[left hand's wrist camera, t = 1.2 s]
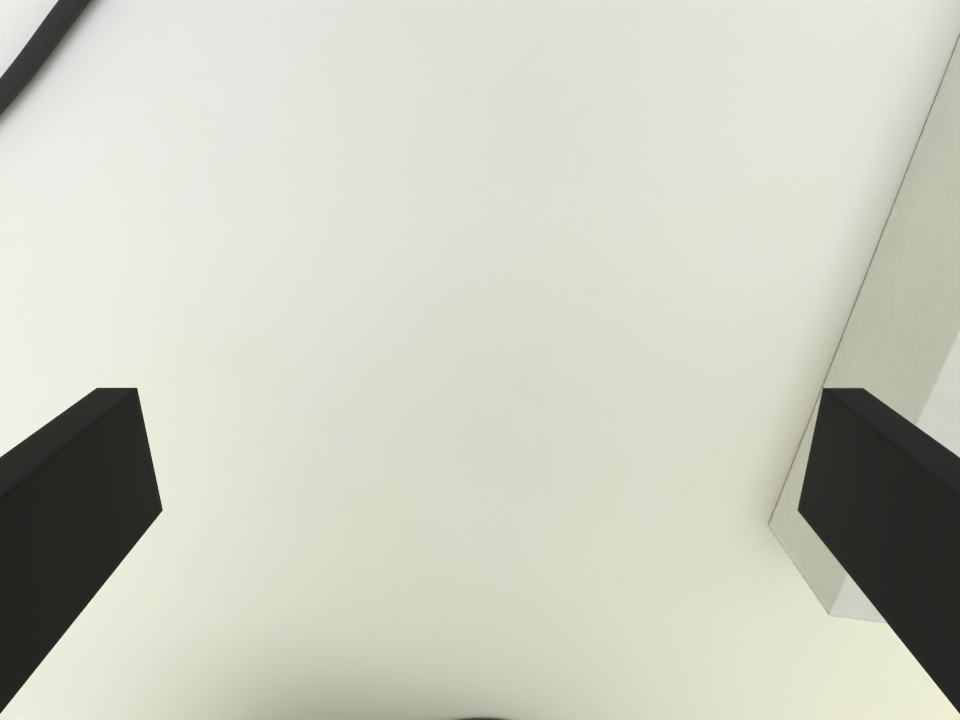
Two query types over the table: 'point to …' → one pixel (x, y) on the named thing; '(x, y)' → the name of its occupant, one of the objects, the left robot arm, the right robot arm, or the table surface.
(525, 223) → the table surface
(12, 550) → the left robot arm
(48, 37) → the right robot arm
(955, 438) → the light grey rectangular bar
